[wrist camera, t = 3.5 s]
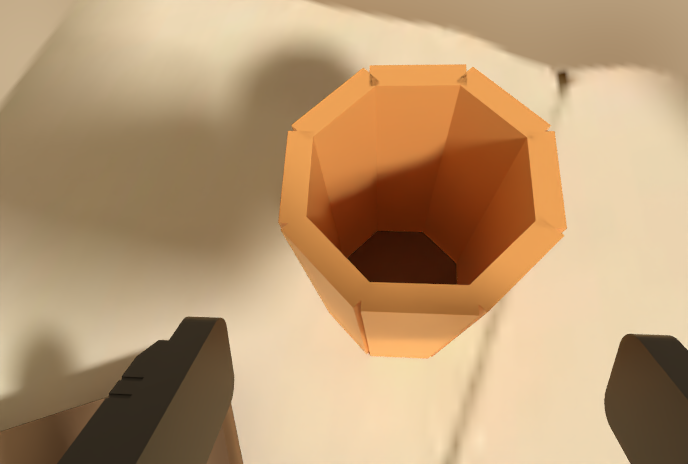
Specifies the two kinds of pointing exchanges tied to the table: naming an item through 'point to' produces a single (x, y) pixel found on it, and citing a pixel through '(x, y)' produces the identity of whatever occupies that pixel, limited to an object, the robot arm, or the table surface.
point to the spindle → (62, 429)
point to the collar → (420, 198)
